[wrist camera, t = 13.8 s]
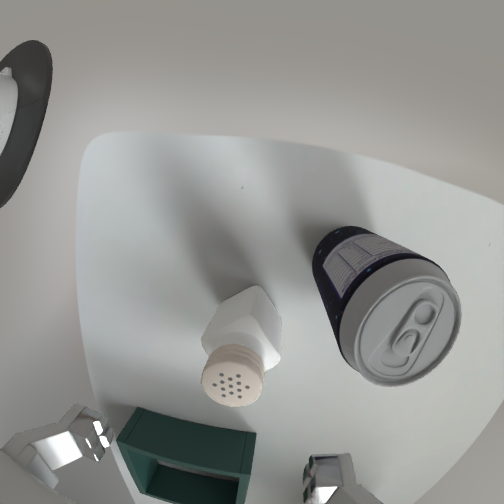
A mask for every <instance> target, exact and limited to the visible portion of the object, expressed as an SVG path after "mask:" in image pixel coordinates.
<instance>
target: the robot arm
mask: <svg viewBox="0 0 504 504" xmlns="http://www.w3.org/2000/svg"><path fill="white" fill-rule="evenodd" d="M17 99H18V87H17V83H16V81H15V80H14V79H13V78H12V70H11V68H10V67H5V68H4V69H3V70H2V71H1V72H0V155H1V153H2V151H3V149H4V147H5V145H6V142H7V140H8V137H9V134H10V131H11V128H12V124H13V121H14V117H15V112H16V107H17ZM108 423H109V418H108V416H106V415H104V414H101V413H99V412H97V411H94V410H92V409H90V408H88V407H86V406H83V405H81V404H79V403H77V404H75V405H73V407H72V408H71V409H70V410H69V411H68V412H67V413H66V415H65V416H64V417H63V418H62V419H61V420H60V421H59V423H58V424H56V423H53V424H49V425H46V426H42V427H39V428H35V429H31V430H27V431H24V432H19V433H16V434H15V435H14V436H13V437H12V438H11V439H10V440H9V441H8V442H7V443H6V445H5V446H4V447H3V448H2V449H0V504H77V503H75V502H73V501H72V500H70V499H68V498H66V497H65V496H63V495H62V494H60V493H59V492H57V491H55V490H54V487H55V486H56V484H57V483H58V481H59V479H58V477H57V476H56V475H55V474H54V472H53V471H52V470H55V469H57V468H59V467H61V466H63V465H65V464H68V463H70V462H72V461H74V460H76V459H77V458H80V457H82V456H83V455H84V456H86V457H88V458H90V459H92V460H94V461H97V462H99V461H100V460H101V458H102V457H103V455H104V453H105V450H104V448H105V447H107V446H109V445H110V444H111V442H112V439H113V429H112V427H111V426H110V425H109V424H108ZM303 485H304V486H305V487H306V489H305V491H304V492H303V501H304V504H383V503H382V502H381V501H379V500H378V499H377V498H376V497H375V496H373V495H372V494H371V493H370V492H369V491H368V490H366V489H365V488H364V487H363V486H362V485H361V484H360V485H357V482H356V477H355V472H354V467H353V462H352V458H351V455H350V454H349V453H344V454H316V455H311V456H310V457H309V463H308V464H307V465H306V466H305V468H304V473H303Z"/></svg>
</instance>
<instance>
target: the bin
mask: <svg viewBox="0 0 504 504" xmlns="http://www.w3.org/2000/svg"><path fill="white" fill-rule="evenodd" d="M255 441H256V433H250V432H242V431H235V430H229V429H223V428H217V427H212V426H207V425H202V424H197V423H193V422H188V421H184V420H180V419H176V418H172V417H169V416H165V415H161V414H158V413H154V412H151V411H148V410H145V409H142V408H139V407H137V409H136V410H135V412H134V413H133V415H132V416H131V418H130V419H129V421H128V422H127V424H126V425H125V427H124V428H123V430H122V431H121V433H120V434H119V436H118V437H117V439H116V442H117V444H118V447H119V449H120V452H121V454H122V456H123V459H124V461H125V463H126V465H127V467H128V470H129V472H130V474H131V476H132V478H133V480H134V482H135V484H136V486H137V488H138V490H139V491H140V493H142V494H145V495H148V496H151V497H154V498H157V499H160V500H163V501H166V502H170V503H173V504H244V503H245V498H246V494H247V489H248V485H249V480H250V475H251V469H252V462H253V455H254V448H255ZM157 459H158V460H162V461H165V462H168V463H172V464H175V465H179V466H183V467H187V468H191V469H195V470H200V471H204V472H209V473H214V474H220V475H226V476H232V477H239V482H234V481H228V480H222V479H216V478H211V477H206V476H201V475H197V474H192V473H188V472H184V471H180V470H177V469H173V468H169V467H166V466H163V465H159V464H158V461H157Z"/></svg>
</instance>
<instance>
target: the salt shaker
mask: <svg viewBox="0 0 504 504" xmlns="http://www.w3.org/2000/svg"><path fill="white" fill-rule="evenodd" d="M201 340H202V346H203V348H204V349H205V351H206V353H207V354H208V356H209V359H208V361H207V363H206V365H205V367H204V370H203V373H202V378H201V384H202V386H203V388H204V390H205V392H206V394H207V395H208V396H209V397H211V398H212V399H213V400H215V401H216V402H217V403H220V404H223V405H227V406H231V407H238V406H247V405H249V404H250V403H252V402H253V401H255V400H257V399H258V398H259V396H260V393H261V391H262V388H263V382H264V373H265V371H267V370H269V369H270V368H272V367H274V366H276V365H277V363H278V362H279V361H280V360H281V344H282V320H281V317H280V315H279V314H278V312H277V310H276V309H275V307H274V306H273V304H272V302H271V301H270V299H269V298H268V296H267V294H266V293H265V291H264V290H263V288H261V287H260V286H259V285H256V286H251V287H249V288H247V289H246V290H244V291H242V292H240V293H238V294H236V295H234V296H233V297H231V298H229V299H227V300H225V301H223V302H222V303H221V304H220V305H219V307H218V309H217V310H216V312H215V314H214V316H213V318H212V319H211V321H210V323H209V325H208V327H207V328H206V330H205V332H204V334H203V336H202V337H201Z"/></svg>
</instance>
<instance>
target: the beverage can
mask: <svg viewBox="0 0 504 504" xmlns="http://www.w3.org/2000/svg"><path fill="white" fill-rule="evenodd" d="M312 271H313V276H314V279H315V281H316V284H317V287H318V290H319V292H320V295H321V298H322V301H323V303H324V306H325V309H326V312H327V315H328V317H329V320H330V323H331V326H332V329H333V332H334V335H335V338H336V341H337V344H338V347H339V350H340V352H341V354H342V356H343V358H344V359H345V361H346V362H347V363H348V364H349V365H350V366H351V367H352V368H353V369H355V370H356V371H358V372H360V374H361V375H362V376H363V377H364V378H365V379H367V380H368V381H370V382H372V383H374V384H376V385H380V386H385V387H396V386H402V385H406V384H409V383H412V382H415V381H417V380H419V379H421V378H422V377H424V376H426V375H427V374H429V373H430V372H431V371H432V370H434V369H435V368H436V367H437V366H438V365H439V364H440V363H441V362H442V361H443V360H444V358H445V357H446V356H447V355H448V353H449V351H450V350H451V348H452V347H453V345H454V343H455V341H456V338H457V335H458V333H459V329H460V325H461V316H462V312H461V304H460V299H459V297H458V295H457V292H456V291H455V289H454V288H453V286H452V285H451V283H450V280H449V278H448V276H447V275H446V273H445V272H444V271H443V269H442V268H441V267H440V266H439V265H437V264H436V263H435V262H433V261H431V260H429V259H427V258H425V257H423V256H421V255H419V254H417V253H415V252H413V251H411V250H409V249H407V248H405V247H403V246H401V245H399V244H397V243H394V242H392V241H390V240H388V239H386V238H384V237H381V236H379V235H377V234H375V233H373V232H370V231H368V230H366V229H363V228H361V227H356V226H345V227H341V228H338V229H336V230H333V231H332V232H330V233H329V234H327V235H326V236H325V237H324V238H323V239H322V240H321V242H320V243H319V245H318V246H317V248H316V250H315V253H314V256H313V261H312Z"/></svg>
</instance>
